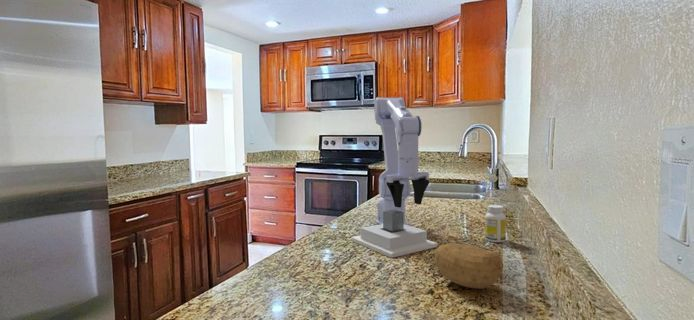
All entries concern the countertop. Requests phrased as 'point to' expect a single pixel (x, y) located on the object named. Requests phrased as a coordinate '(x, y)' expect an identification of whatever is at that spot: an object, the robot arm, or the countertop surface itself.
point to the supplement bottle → (495, 224)
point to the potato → (468, 265)
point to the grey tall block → (393, 221)
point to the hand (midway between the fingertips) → (408, 205)
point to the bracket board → (396, 251)
